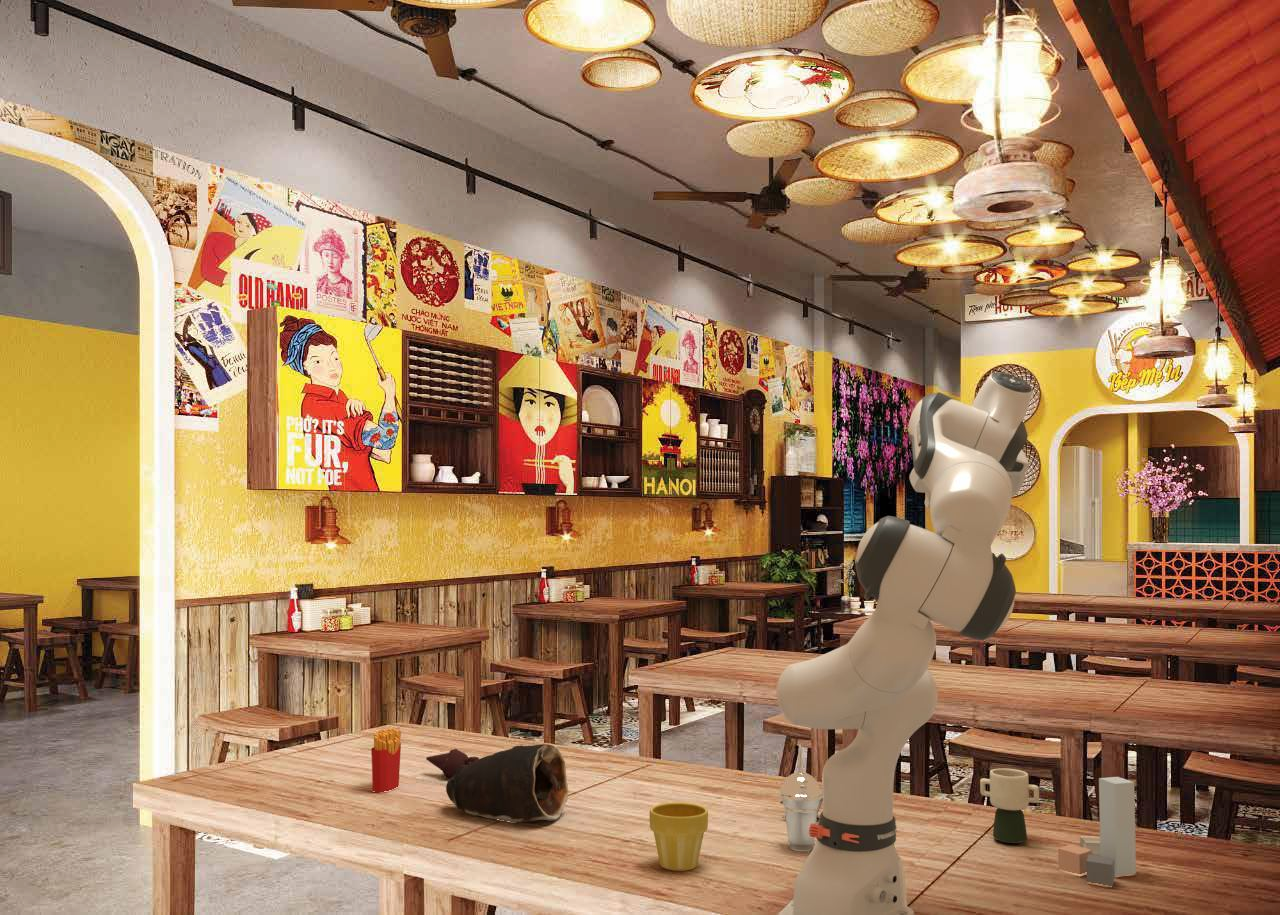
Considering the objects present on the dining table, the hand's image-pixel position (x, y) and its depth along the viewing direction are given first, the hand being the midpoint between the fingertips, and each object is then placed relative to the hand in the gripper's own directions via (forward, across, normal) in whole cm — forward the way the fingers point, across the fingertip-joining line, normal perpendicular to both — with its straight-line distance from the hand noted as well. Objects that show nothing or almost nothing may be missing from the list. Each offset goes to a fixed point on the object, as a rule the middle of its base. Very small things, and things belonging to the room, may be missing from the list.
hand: (953, 507), depth 198 cm
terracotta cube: (+37, +20, -52) cm, 67 cm away
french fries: (+93, -103, -2) cm, 139 cm away
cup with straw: (+53, -24, -39) cm, 70 cm away
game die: (+65, -18, -26) cm, 72 cm away
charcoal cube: (+33, +21, -56) cm, 68 cm away
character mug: (+50, +17, -39) cm, 66 cm away
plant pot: (+49, -48, -44) cm, 82 cm away
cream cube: (+40, +26, -48) cm, 68 cm away
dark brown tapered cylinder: (+76, -78, -19) cm, 111 cm away
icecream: (+98, -89, +4) cm, 133 cm away
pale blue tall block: (+36, +27, -53) cm, 69 cm away
